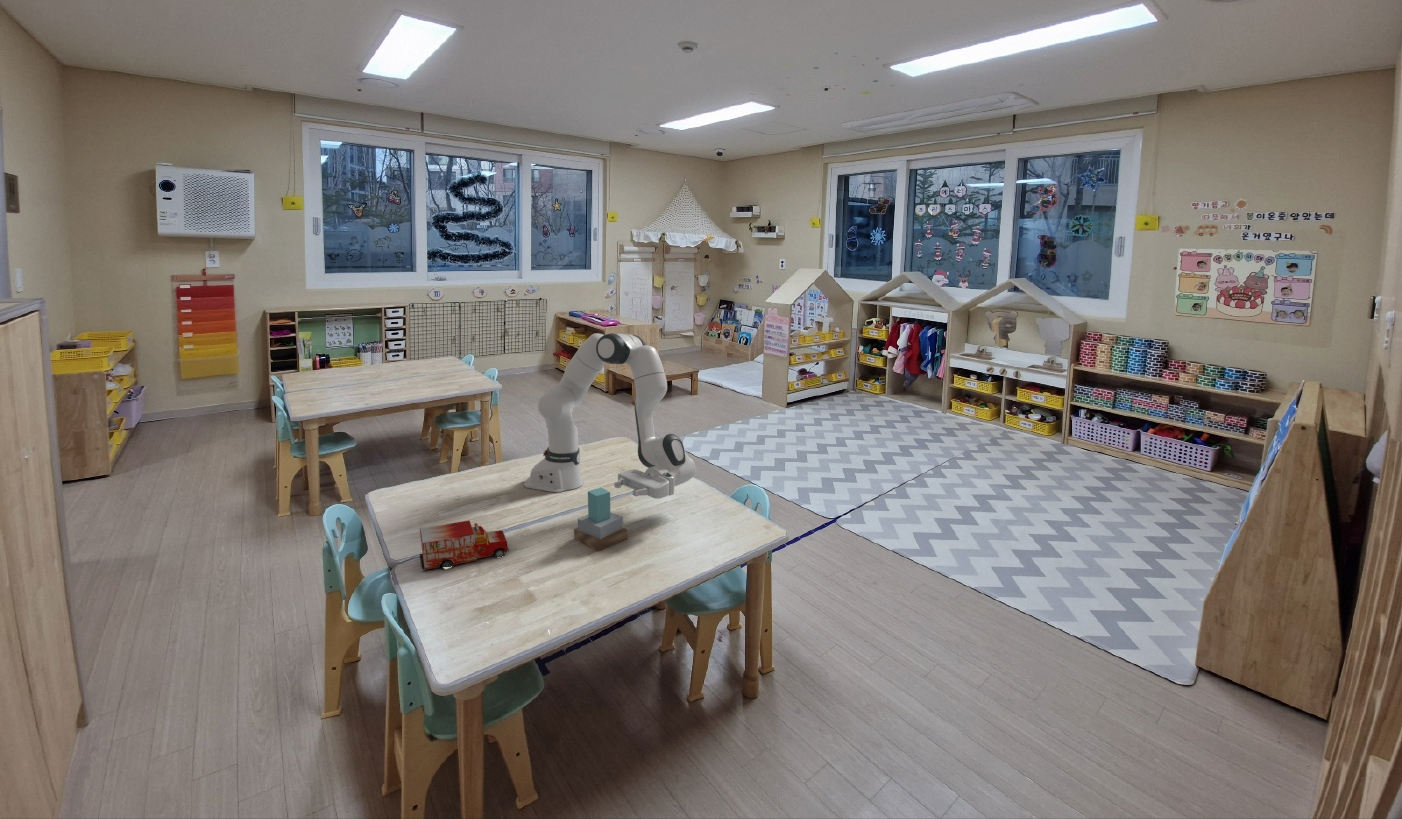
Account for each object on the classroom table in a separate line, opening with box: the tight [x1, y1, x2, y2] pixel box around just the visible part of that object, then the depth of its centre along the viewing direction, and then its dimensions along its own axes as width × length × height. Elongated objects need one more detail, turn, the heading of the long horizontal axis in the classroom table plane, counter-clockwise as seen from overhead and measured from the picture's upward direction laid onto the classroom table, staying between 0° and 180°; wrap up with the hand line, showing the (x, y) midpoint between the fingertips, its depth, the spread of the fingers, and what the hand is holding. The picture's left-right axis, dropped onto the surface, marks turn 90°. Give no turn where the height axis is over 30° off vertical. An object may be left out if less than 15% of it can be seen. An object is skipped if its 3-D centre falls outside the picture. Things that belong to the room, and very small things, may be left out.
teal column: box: [587, 487, 611, 523], centre depth 210 cm, size 5×5×9 cm
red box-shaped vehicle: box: [419, 520, 510, 571], centre depth 199 cm, size 11×25×10 cm, turn 116°
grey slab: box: [577, 512, 624, 539], centre depth 212 cm, size 10×10×4 cm
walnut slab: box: [573, 527, 628, 552], centre depth 213 cm, size 12×12×4 cm
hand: (624, 489), depth 216 cm, fingers open, 8 cm apart
